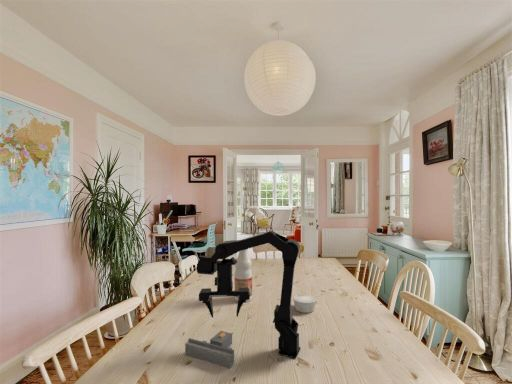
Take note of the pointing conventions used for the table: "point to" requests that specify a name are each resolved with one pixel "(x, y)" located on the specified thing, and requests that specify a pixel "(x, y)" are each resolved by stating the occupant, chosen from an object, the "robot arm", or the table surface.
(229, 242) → the robot arm
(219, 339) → the block
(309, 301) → the ramekin
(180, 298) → the table surface
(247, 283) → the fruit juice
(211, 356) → the rail
